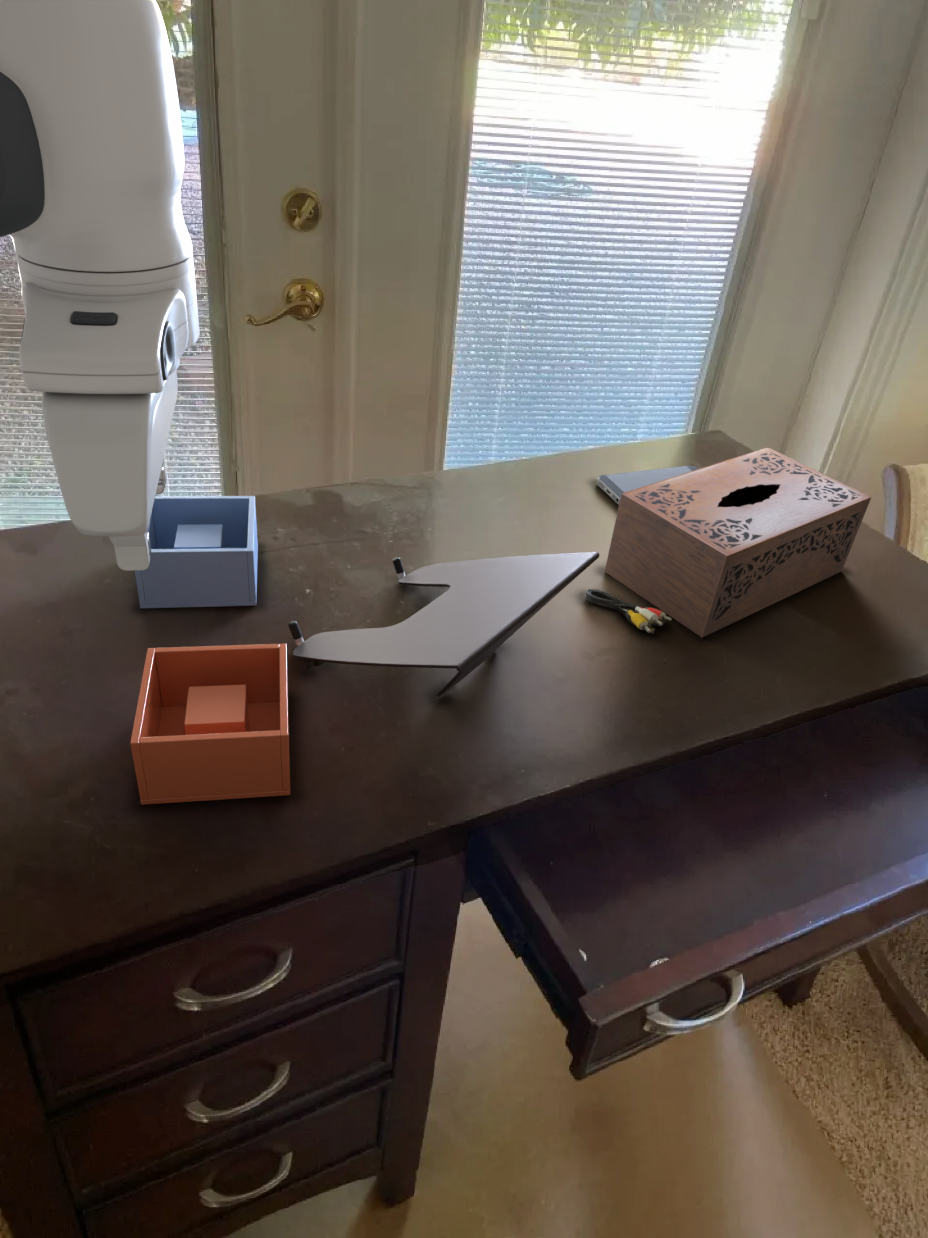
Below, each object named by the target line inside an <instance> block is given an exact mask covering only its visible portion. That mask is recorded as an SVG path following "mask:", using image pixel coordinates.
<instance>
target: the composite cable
mask: <svg viewBox="0 0 928 1238" xmlns="http://www.w3.org/2000/svg"><path fill="white" fill-rule="evenodd" d="M584 598H585V600H586V601H588V602H589V603H592V604H594V605H598V606H603V607H606V608H609V609H612V610H615V611H618V612H619V613H621V614H623V616H624V617H625V618H626V620H627V622H628V623H630V624H631V625H633V626H634V627H636V628H637V629H638V630H640V631H644V632H647V633H648V634H650V633H651V634H653V635H654V634H655V630H656V628H654V627H662V626H663V625H664V624H665V623H666V621H668V622H671V621H672V619H673V618H672V617H671V616H667V614H666V613H665V612H663V611H662V610H660V609H659V608H656V607H650V606H644V605H643V606H642V605H636V604H633V603H630V602H626V601H625V600H622V599H620V598H618V597H616V596H614V595H612V594H611V593H608V592H606V591H604V590H601V589H596V588H593V589H592V588H590V589H589V588H588V589H586V590H585V596H584Z"/></svg>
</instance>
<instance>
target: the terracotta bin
mask: <svg viewBox="0 0 928 1238" xmlns="http://www.w3.org/2000/svg"><path fill="white" fill-rule="evenodd" d="M287 645H288V644H287V643H270V644H269V643H265V644H231V645H203V646H202V645H201V646H199V645H198V646H173V647H172V646H171V647H169V646H168V647H147V650H146V655H145V661H144V666H143V671H142V677H141V682H140V687H139V688H140V689H139V694H138V699H137V704H136V710H135V716H134V721H133V725H132V730H131V738H130V743H129V745H130V750H131V755H132V760H133V766H134V773H135V778H136V783H137V789H138V794H139V795H138V796H139V799H140V804H141V805H142V806H145V805H156V804H157V805H158V804H173V803H174V804H175V803H188V802H189V803H190V802H205V801H219V800H237V799H250V798H251V799H252V798H267V797H268V798H269V797H280V796H281V797H283V796H291V757H290V754H291V753H290V751H291V750H290V749H291V748H290V706H289V705H290V703H289V700H290V699H289V675H288V674H289V673H288V648H287V647H288V646H287ZM223 685H246V694H247V708H248V722H249V730H248V732H237V733H217V734H198V735H186V734H185V726H184V723H185V714H186V706H187V697H188V689H189V687H198V686H223Z"/></svg>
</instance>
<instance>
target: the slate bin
mask: <svg viewBox="0 0 928 1238" xmlns="http://www.w3.org/2000/svg"><path fill="white" fill-rule="evenodd" d="M256 506H257V504H256V496H255V495H155V500H154V504H153V509H152V513H151V518H150V523H149V528H148V530H147V532H149V537H150V547H151V558H150V563H149V567H148V568H147V569H146V570H137V571H134V577H135V582H136V590H137V595H138V603H139V608H140V609H167V608H168V609H170V608H172V609H173V608H174V609H175V608H176V609H177V608H208V607H209V608H210V607H211V608H213V607H214V608H215V607H246V606H247V607H250V606H257V600H258V599H257V598H258V597H257V593H258V563H259V562H258V557H259V544H258V543H259V541H258V525H257V507H256ZM201 524H223V535H224V547H225V548H223V549H174V544H175V538H176V532H177V526H178V525H201Z"/></svg>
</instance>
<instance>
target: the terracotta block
mask: <svg viewBox="0 0 928 1238" xmlns="http://www.w3.org/2000/svg"><path fill="white" fill-rule="evenodd" d="M184 726H185V734H186V735H198V734H217V733H237V732H248V730H249V722H248V708H247V694H246V685H223V686H198V687H189V689H188V697H187V706H186V714H185V723H184Z"/></svg>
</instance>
